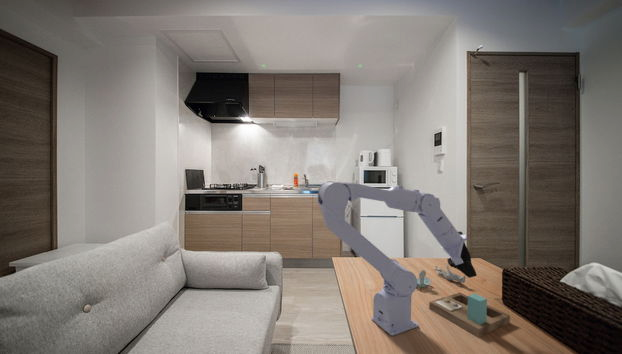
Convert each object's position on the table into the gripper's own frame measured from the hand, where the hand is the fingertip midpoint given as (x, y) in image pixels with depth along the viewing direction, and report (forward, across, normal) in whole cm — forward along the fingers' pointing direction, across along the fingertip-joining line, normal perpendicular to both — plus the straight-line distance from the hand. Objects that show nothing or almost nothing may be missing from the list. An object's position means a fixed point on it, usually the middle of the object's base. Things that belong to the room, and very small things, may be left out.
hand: (469, 266), depth 69 cm
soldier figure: (+19, +19, +14) cm, 30 cm away
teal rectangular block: (+9, -9, +5) cm, 13 cm away
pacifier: (+10, +10, +21) cm, 25 cm away
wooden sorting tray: (+12, -4, +8) cm, 14 cm away
